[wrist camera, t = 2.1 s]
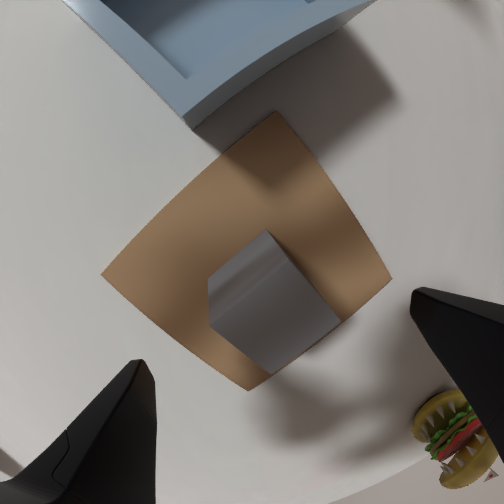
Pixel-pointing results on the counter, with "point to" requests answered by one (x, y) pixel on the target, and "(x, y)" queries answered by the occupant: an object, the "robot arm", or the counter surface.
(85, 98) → the counter surface
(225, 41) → the light blue open box
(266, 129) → the lid
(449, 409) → the hamburger
